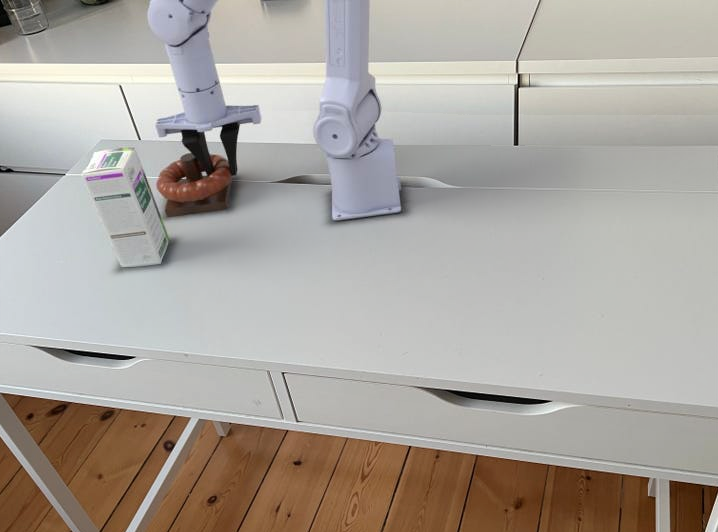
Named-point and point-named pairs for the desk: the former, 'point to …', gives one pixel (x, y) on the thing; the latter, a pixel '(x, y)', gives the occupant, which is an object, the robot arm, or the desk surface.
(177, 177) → the ring
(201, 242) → the desk surface
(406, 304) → the desk surface
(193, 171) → the post
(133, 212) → the syrup box
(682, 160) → the desk surface
